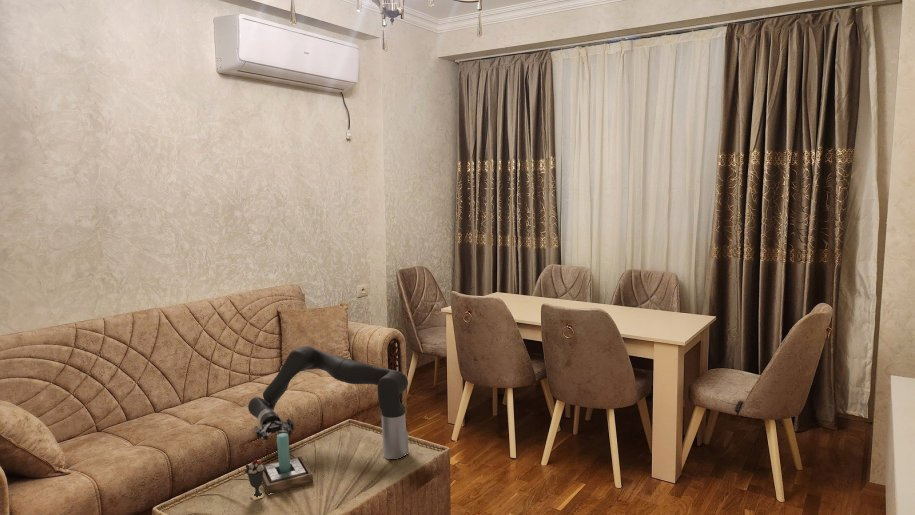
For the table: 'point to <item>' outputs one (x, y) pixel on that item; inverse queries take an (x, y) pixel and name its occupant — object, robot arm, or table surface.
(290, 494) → the table surface
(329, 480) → the table surface
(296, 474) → the plate
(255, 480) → the sundae
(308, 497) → the table surface
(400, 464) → the table surface
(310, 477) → the box
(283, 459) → the peg
